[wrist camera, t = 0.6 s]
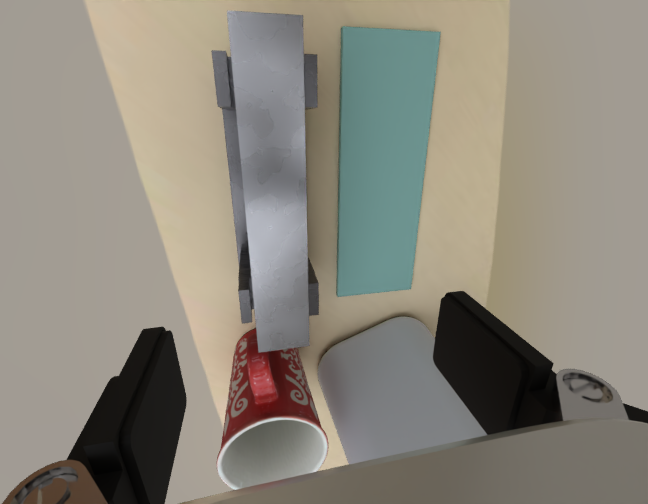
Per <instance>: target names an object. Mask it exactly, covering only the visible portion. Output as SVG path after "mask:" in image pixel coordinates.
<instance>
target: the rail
mask: <svg viewBox="0 0 648 504" xmlns="http://www.w3.org/2000/svg"><path fill="white" fill-rule="evenodd" d="M227 18H228V29H229V39H230V50H231V61H232V72H233V83H234V93H235V104H236V115H237V126H238V137H239V147H240V158H241V169H242V180H243V191H244V201H245V212H246V223H247V234H248V245H249V255H250V266H251V277H252V288H253V299H254V309H255V320H256V331H257V342H258V353H260V352H267V351H275V350H282V349H290V348H297V347H305V346H309V300H308V248H307V197H306V145H305V94H304V42H303V15H290V14H274V13H258V12H242V11H227Z"/></svg>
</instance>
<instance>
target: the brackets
mask: <svg viewBox="0 0 648 504" xmlns="http://www.w3.org/2000/svg"><path fill="white" fill-rule="evenodd" d="M212 59H213V68H214V77H215V86H216V95H217V104H218V107H220V108H222V111H223V120H224V129H225V139H226V148H227V157H228V167H229V176H230V185H231V195H232V204H233V213H234V223H235V232H236V241H237V251H238V260H239V289H238V292H239V301H240V310H241V319H242V323H250V322H252V309H254V299H253V288H252V277H251V266H250V255H249V245H248V234H247V223H246V212H245V201H244V191H243V180H242V169H241V158H240V147H239V137H238V126H237V115H236V104H235V93H234V83H233V72H232V61H231V57H228V56H227V53H226V51H213V50H212ZM304 94H305V110H306V109H311V108H316V107H317V55H313V54H304ZM308 300H309V316H311V315H319V292H318V281H317V278H316V276H315V272H314V270H313V267H312V265H311V263H310V260H309V258H308Z"/></svg>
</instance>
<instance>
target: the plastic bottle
mask: <svg viewBox="0 0 648 504" xmlns="http://www.w3.org/2000/svg"><path fill="white" fill-rule="evenodd" d="M434 344H435V338H434V337H433V335H432V334H431V332H430V331H429V330H428V328H427V327H426V326H425V325H424V324H423V323H422V322H420V321H419V320H417V319H415V318H411V317H396V318H392V319H389V320H387V321H385V322H383V323H381V324H378V325H376V326H374V327H372V328H370V329H368V330H366V331H363V332H361V333H359V334H357V335H355V336H353V337H350V338H348V339H346V340H344V341H342V342H340V343H338V344H336V345H334V346H333V347H331V348H330V349H329V350H328V351H327V352H326V353H325V354H324V356H323V357H322V359H321V361H320V363H319V367H318V380H319V383H320V386H321V389H322V391H323V394H324V397H325V400H326V402H327V405H328V408H329V411H330V413H331V416H332V419H333V422H334V425H335V427H336V430H337V433H338V436H339V438H340V441H341V444H342V447H343V449H344V452H345V455H346V458H347V460H348V463H349V464H354V463H358V462H363V461H368V460H372V459H377V458H381V457H386V456H391V455H395V454H400V453H405V452H409V451H414V450H419V449H423V448H428V447H433V446H437V445H442V444H447V443H452V442H456V441H461V440H466V439H471V438H476V437H480V436H485V435H487V434H486V432H485V431H484V430H483V428H482V427H481V426H480V424H479V423H478V422H477V420H476V419H475V418H474V416H473V415H472V414H471V412H470V411H469V410H468V408H467V407H466V406H465V404H464V403H463V402H462V400H461V399H460V398H459V396H458V395H457V394H456V392H455V391H454V390H453V388H452V387H451V386H450V384H449V383H448V382H447V380H446V379H445V378H444V376H443V375H442V374H441V372H440V371H439V370H438V369H437V367H436V366H435V364H434V361H433V351H434Z"/></svg>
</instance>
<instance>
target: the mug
mask: <svg viewBox="0 0 648 504" xmlns="http://www.w3.org/2000/svg"><path fill="white" fill-rule="evenodd" d="M327 452H328V439H327V436H326V433H325V432H324V430H323V429H322V428H321V424H320V421H319V418H318V414H317V411H316V408H315V405H314V402H313V398H312V395H311V392H310V389H309V386H308V383H307V379H306V376H305V372H304V369H303V366H302V362H301V359H300V356H299V352H298V349H297V348H290V349H282V350H275V351H267V352H260V353H258V342H257V331H256V329H253V330H251V331H249V332H248V333H246V334H245V335H244V336H243V337H242V338H241V339H240V340H239V341H238V343H237V345H236V348H235V352H234V357H233V366H232V374H231V380H230V387H229V395H228V402H227V409H226V416H225V423H224V431H223V437H222V444H221V449H220V452H219V454H218V457H217V471H218V474H219V476H220V478H221V479H222V480H223V481H224V483H225V484H226V485H228V486H229V487H231V488H233V489H234V490H237V489H241V488H245V487H250V486H254V485H259V484H263V483H268V482H272V481H277V480H281V479H286V478H290V477H295V476H299V475H304V474H308V473H313V472H317V470H318V469H319V468H320V467H321V466H322V464H323V462H324V461H325V458H326V456H327Z"/></svg>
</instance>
